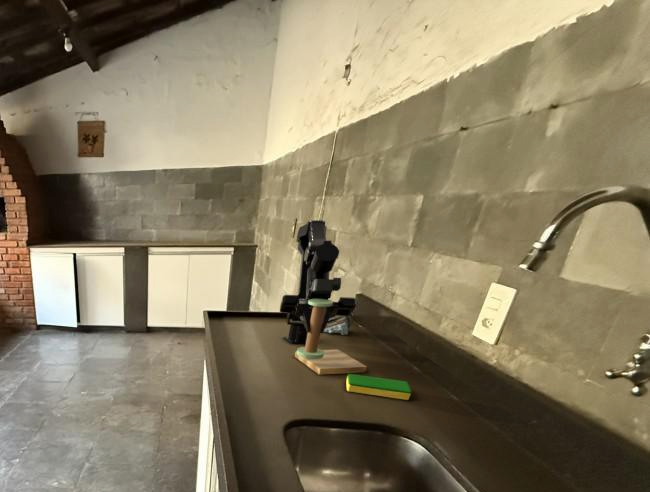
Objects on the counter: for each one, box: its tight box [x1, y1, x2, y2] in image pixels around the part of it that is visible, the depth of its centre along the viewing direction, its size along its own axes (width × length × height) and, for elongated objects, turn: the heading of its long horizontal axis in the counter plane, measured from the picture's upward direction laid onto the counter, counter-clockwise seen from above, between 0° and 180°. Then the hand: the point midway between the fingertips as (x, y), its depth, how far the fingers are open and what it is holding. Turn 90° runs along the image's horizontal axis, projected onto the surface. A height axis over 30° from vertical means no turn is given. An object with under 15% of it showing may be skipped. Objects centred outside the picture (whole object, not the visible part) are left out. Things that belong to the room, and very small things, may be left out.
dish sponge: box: [345, 373, 412, 401], centre depth 109 cm, size 7×14×2 cm, turn 65°
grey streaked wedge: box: [323, 315, 353, 336], centre depth 154 cm, size 10×7×12 cm
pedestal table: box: [296, 299, 334, 359], centre depth 115 cm, size 7×7×15 cm
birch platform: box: [294, 349, 368, 376], centre depth 126 cm, size 15×14×2 cm
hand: (315, 332), depth 114 cm, fingers closed on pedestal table, 3 cm apart
